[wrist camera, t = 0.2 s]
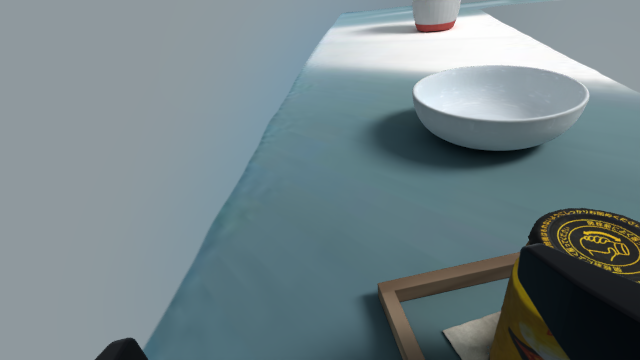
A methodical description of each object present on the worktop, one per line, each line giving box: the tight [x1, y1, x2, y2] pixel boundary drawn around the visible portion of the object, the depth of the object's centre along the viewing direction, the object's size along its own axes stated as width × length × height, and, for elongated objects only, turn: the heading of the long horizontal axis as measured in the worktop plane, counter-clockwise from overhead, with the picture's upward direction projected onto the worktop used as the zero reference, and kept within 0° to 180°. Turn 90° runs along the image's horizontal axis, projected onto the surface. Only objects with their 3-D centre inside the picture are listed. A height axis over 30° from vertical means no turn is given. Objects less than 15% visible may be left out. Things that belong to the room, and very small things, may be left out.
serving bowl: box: [412, 65, 589, 151], centre depth 47 cm, size 21×21×7 cm
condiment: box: [443, 208, 640, 360], centre depth 18 cm, size 7×8×12 cm
